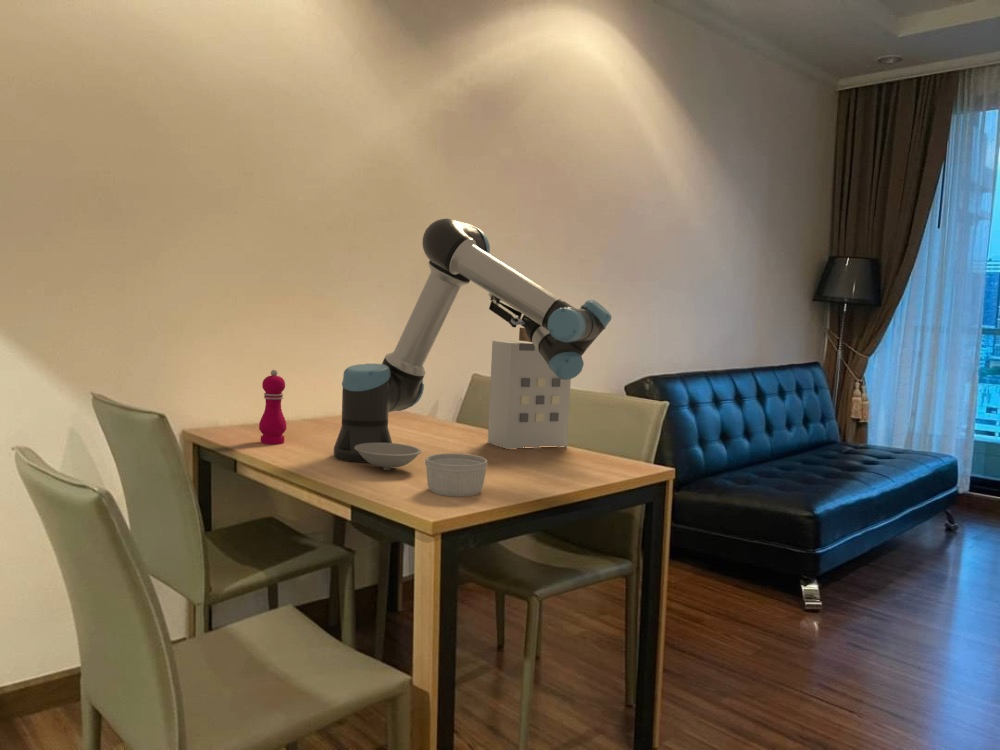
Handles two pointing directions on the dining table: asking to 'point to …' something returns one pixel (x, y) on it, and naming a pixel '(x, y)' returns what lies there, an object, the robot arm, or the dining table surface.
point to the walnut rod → (523, 335)
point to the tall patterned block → (526, 398)
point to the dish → (387, 454)
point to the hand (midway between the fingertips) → (513, 292)
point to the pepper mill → (273, 410)
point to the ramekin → (455, 474)
